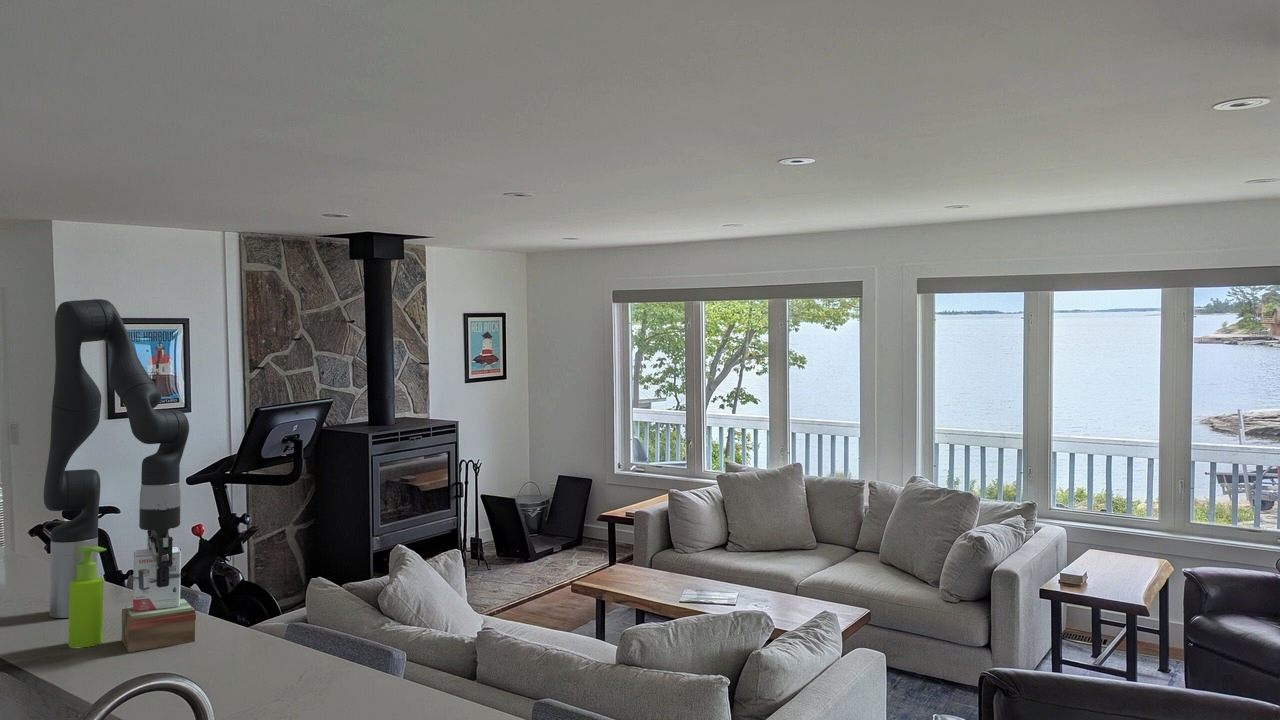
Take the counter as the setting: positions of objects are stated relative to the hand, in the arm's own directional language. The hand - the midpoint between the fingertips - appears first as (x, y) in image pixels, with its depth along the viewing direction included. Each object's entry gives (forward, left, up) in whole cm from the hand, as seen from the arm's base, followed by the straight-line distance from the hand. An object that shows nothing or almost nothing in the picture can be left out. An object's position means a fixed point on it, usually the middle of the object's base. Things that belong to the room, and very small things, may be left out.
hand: (159, 582), depth 180 cm
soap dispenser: (-6, -12, -12) cm, 18 cm away
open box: (0, 0, -12) cm, 12 cm away
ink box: (0, 0, -5) cm, 5 cm away
